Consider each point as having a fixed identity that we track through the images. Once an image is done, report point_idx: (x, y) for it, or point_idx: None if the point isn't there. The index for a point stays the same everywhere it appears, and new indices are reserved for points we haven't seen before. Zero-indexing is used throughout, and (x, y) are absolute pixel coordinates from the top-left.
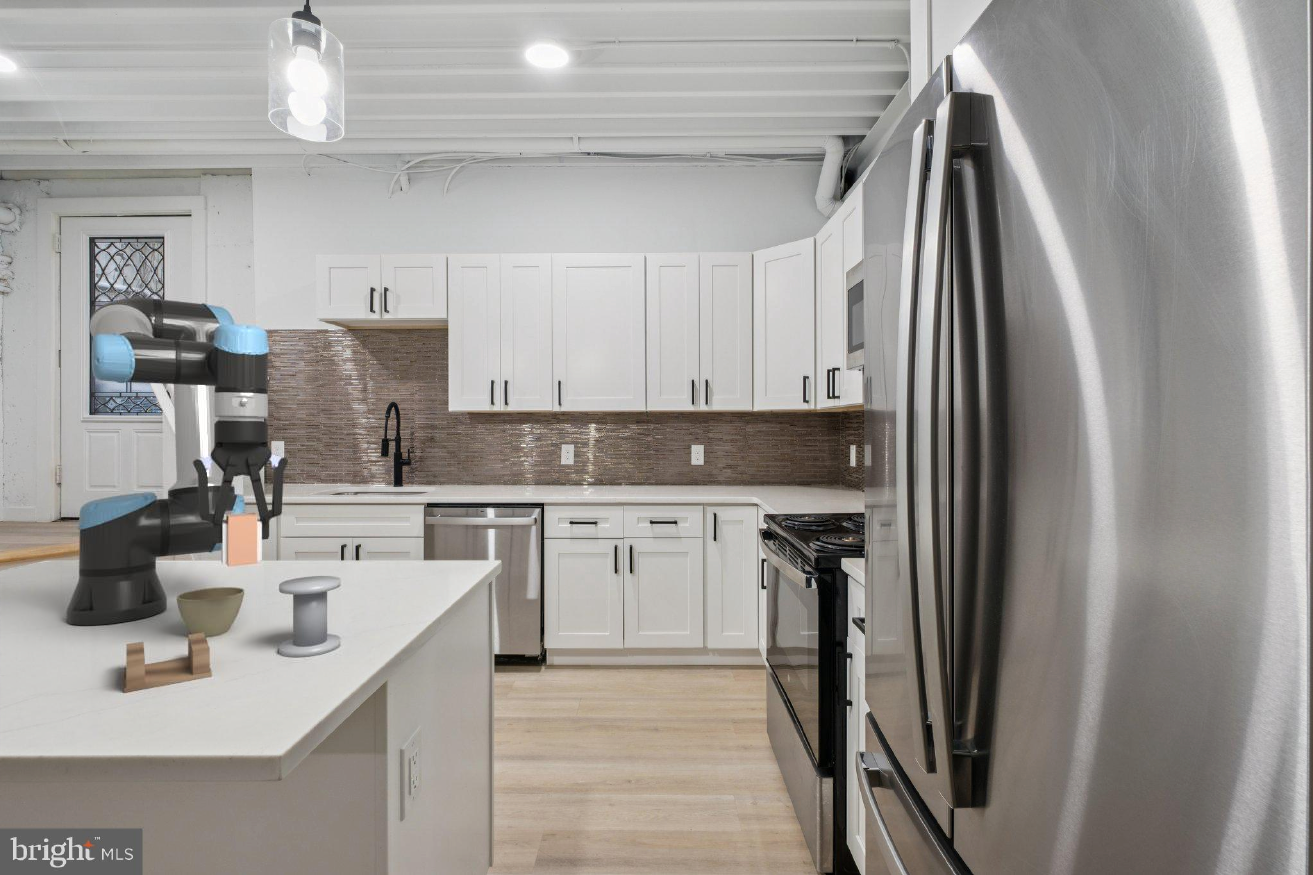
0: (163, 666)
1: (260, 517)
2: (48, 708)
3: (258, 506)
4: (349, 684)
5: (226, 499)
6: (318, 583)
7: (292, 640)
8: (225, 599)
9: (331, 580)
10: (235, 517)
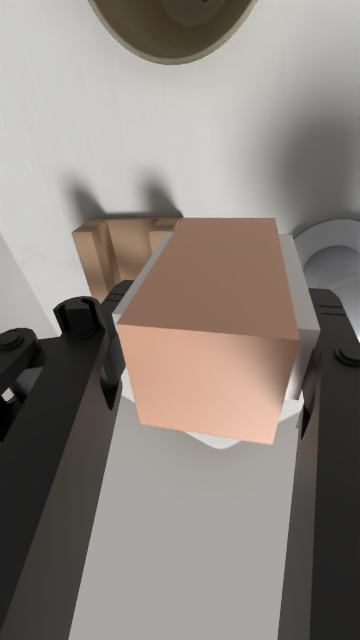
0: (133, 246)
1: (309, 383)
2: (59, 299)
3: (295, 476)
4: (301, 402)
5: (86, 510)
6: None
7: (312, 242)
8: (211, 52)
9: None
10: (171, 424)
